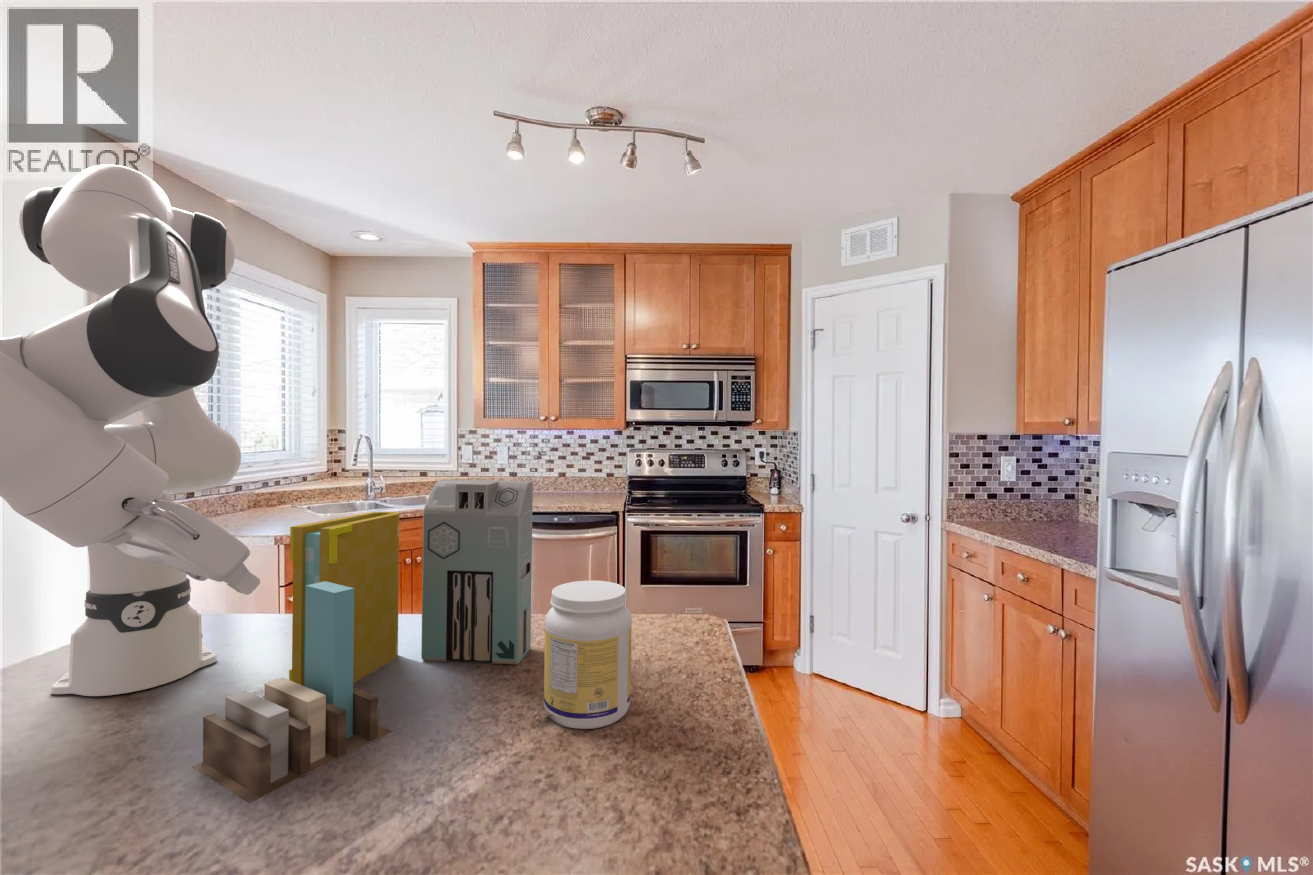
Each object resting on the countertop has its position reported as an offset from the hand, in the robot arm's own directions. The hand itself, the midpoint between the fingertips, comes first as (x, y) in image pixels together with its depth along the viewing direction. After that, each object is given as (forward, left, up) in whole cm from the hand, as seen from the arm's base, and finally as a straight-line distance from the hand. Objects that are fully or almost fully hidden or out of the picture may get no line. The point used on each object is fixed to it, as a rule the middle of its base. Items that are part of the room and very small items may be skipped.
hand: (228, 581), depth 60 cm
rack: (-2, +7, -23) cm, 24 cm away
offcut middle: (-2, +6, -21) cm, 22 cm away
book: (-21, +17, -23) cm, 36 cm away
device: (-19, +36, -23) cm, 47 cm away
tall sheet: (-4, +10, -21) cm, 24 cm away
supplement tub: (+9, +40, -23) cm, 47 cm away
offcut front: (-1, +3, -21) cm, 21 cm away
